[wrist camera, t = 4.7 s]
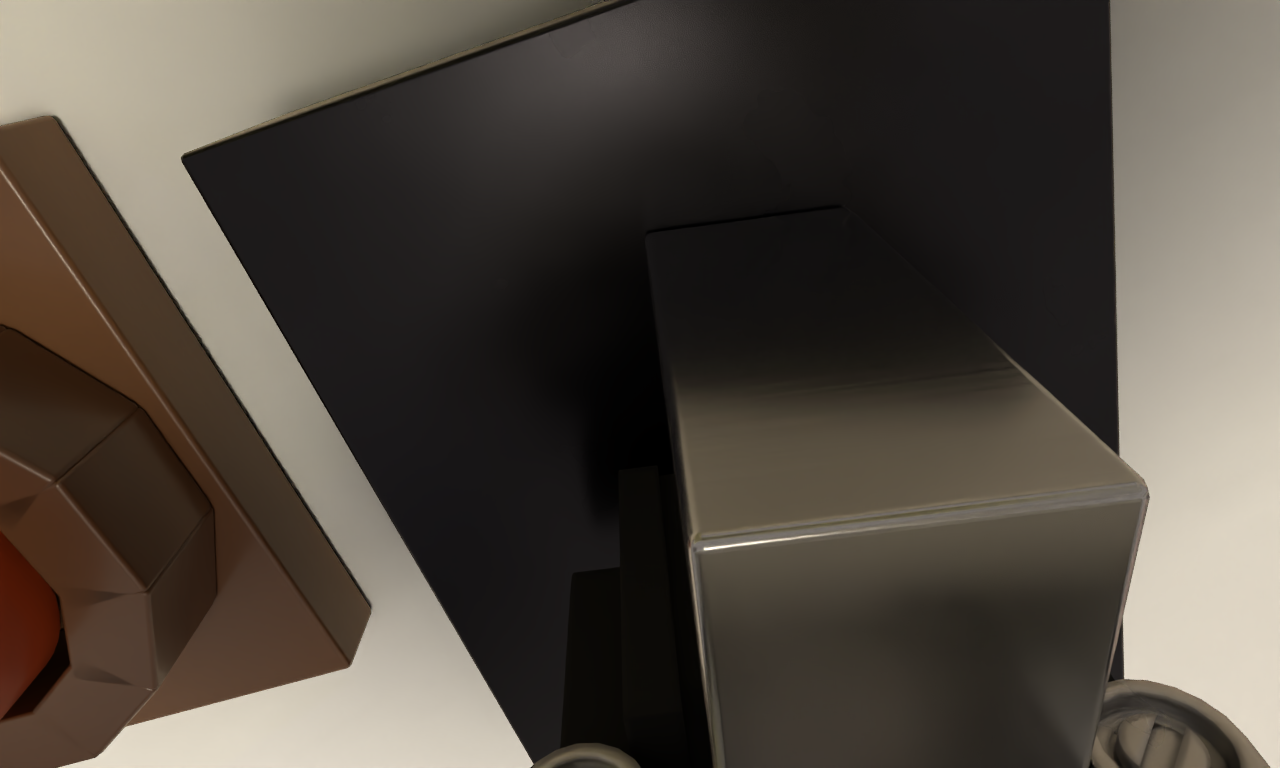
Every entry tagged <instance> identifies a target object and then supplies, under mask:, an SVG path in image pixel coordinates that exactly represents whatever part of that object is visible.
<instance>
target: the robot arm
mask: <svg viewBox="0 0 1280 768" xmlns="http://www.w3.org/2000/svg"><path fill="white" fill-rule="evenodd" d="M618 482H619V537H620V567H615V568H607V569H599V570H591V571H583V572H575V573H573V575H572V579H571V589H570V604H569V620H568V635H567V651H566V666H565V681H564V697H563V712H562V728H561V743H560V749H557V750H555V751H553V752H552V753H550V754H548V755H547V756H545V757H544V758H542V759H540V760H539V761H537V762H536V763H535V764H534V765H533V766H532V767H531V768H713V766H712V758H711V750H710V742H709V734H708V727H707V719H706V711H705V703H704V695H703V688H702V680H701V673H700V665H699V658H698V650H697V642H696V635H695V627H694V620H693V612H692V605H691V597H690V590H689V582H688V575H687V567H686V559H685V552H684V544H683V537H682V529H681V522H680V514H679V507H678V499H677V492H676V484H675V476H674V474H667V475H659V471H658V466H657V465H655V466H647V467H639V468H631V469H623V470H619V471H618ZM1089 768H1270V766H1269V765H1268V764H1267V763H1266V761H1265V760H1264V759H1263V757H1262V756H1261V755H1260V754H1259V752H1258V751H1257V750H1256V749H1255V747H1254V746H1253V745H1252V743H1251V742H1250V741H1249V740H1248V738H1247V737H1246V736H1245V735H1244V734H1243V733H1242V732H1241V731H1240V730H1239V729H1238V728H1237V727H1236V726H1235V725H1234V724H1233V723H1232V722H1231V721H1230V720H1229V719H1228V718H1227V717H1226V716H1225V715H1224V714H1222V713H1221V712H1219V711H1218V710H1216V709H1215V708H1213V707H1212V706H1210V705H1209V704H1207V703H1206V702H1205V701H1203V700H1202V699H1199V698H1197V697H1195V696H1193V695H1191V694H1188V693H1186V692H1184V691H1182V690H1180V689H1177V688H1175V687H1172V686H1168V685H1164V684H1160V683H1156V682H1152V681H1148V680H1129V679H1121V680H1117V681H1115V679H1114V678H1113V677H1112V675H1111V674H1110V675H1109V680H1108V684H1107V689H1106V693H1105V698H1104V702H1103V706H1102V711H1101V715H1100V720H1099V724H1098V729H1097V733H1096V737H1095V742H1094V746H1093V751H1092V755H1091V760H1090V764H1089Z"/></svg>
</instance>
